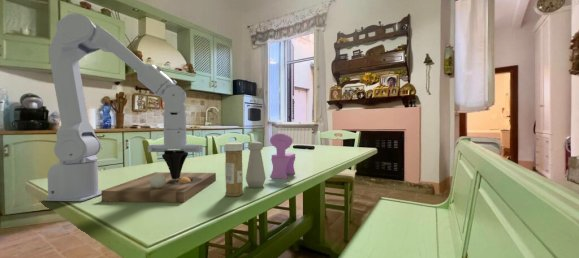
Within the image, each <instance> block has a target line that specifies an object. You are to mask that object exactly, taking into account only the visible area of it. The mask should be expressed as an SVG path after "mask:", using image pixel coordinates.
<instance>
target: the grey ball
mask: <svg viewBox="0 0 579 258" xmlns="http://www.w3.org/2000/svg"><path fill="white" fill-rule="evenodd" d="M165 183H166V178H165V176H164V175H162V174H155V175H153V176H152V177H151V179H150V184H151V186H152V187H154V188H161V187H163V186H164V185H165Z"/></svg>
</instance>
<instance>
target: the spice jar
mask: <svg viewBox="0 0 579 258" xmlns="http://www.w3.org/2000/svg"><path fill="white" fill-rule="evenodd" d="M243 150H244V145H243V143H242V142H237V141H236V142H233V141H232V142H225V143H224V151H225V153H224V154H225V163H224V167H225V168H224V169H225V170H224V171H225V193H224V194H225V196H228V197H239V196H242V195H243V194H244V191H243V190H244V189H243V181H244V180H243V179H244V177H243Z"/></svg>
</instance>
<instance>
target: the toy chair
mask: <svg viewBox="0 0 579 258" xmlns="http://www.w3.org/2000/svg"><path fill="white" fill-rule="evenodd" d="M293 141H294V140H293V138H292V137H291V135H289V134H285V133H283V132H281V133H275V134H273V135H271V137H270V139H269V142H270V144H271V145H272V146H273V147H274V148H275V149H276V153H275V154H271V159H270V161H271V164H272V171H271V173H270V176H269V178H270V179H271V178H272V179H273V178H274V179H284V180H285V179H286V180H287V179H288V176H287V174H288V175H296V171H295V166H294V165H295V161H296V153H286V150H287V149H288V148H290V147H291V145H292V144H293Z"/></svg>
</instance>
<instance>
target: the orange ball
mask: <svg viewBox="0 0 579 258" xmlns="http://www.w3.org/2000/svg"><path fill="white" fill-rule="evenodd" d="M185 182H191V180H190V179H189V178H187V177H183V178H181V179H180V180H179V181H178V183H185Z"/></svg>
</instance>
